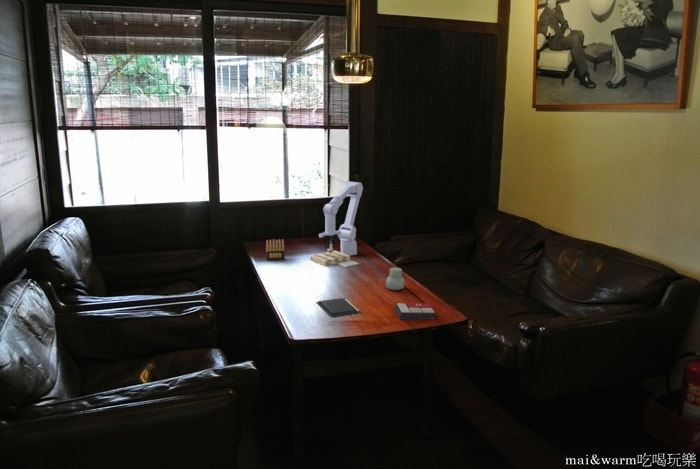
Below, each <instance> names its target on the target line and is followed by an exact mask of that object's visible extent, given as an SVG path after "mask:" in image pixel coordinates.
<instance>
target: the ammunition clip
mask: <svg viewBox="0 0 700 469" xmlns="http://www.w3.org/2000/svg"><path fill="white" fill-rule="evenodd" d="M265 243H266V244H265V253H266V254H265V260H266V261H274V260H279V259H280V260H285V258H286V257H285V256H286V255H285V241H284V239H283V238H282V239H281V238H279V239H276V240H275V238H273V239H269V240H268V239H266V242H265Z"/></svg>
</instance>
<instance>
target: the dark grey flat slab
mask: <svg viewBox="0 0 700 469" xmlns="http://www.w3.org/2000/svg"><path fill="white" fill-rule="evenodd" d="M315 303H316V304H317V305H318V307H320V309H322V310H323V311H324V312H325V313H326V315H327V316H329V317H330V318H339V316H340V317H346V316H345V315H347V316H353V315H352V314H354V315H358V313H360V314H363V312H362V310H361V309H359V308H357V307H356V306H355V305H354V304H353V303H351V302H350V301H349V299H347V298H346V297H345V298H343V297H341V298H340V297H339V298H332V299H325V300H318V301H316V302H315Z"/></svg>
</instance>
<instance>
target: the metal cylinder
mask: <svg viewBox="0 0 700 469" xmlns="http://www.w3.org/2000/svg"><path fill="white" fill-rule="evenodd" d="M333 249H334V248H333V240H331V239H330V243H329V249H327V248H326V250H327V251H326V252H328V253H332V252H333V251H334V250H333Z"/></svg>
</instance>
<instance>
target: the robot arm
mask: <svg viewBox="0 0 700 469" xmlns="http://www.w3.org/2000/svg"><path fill="white" fill-rule="evenodd" d="M363 190H364V187H363V184H362V182H360V181H359V182H358V181H357V182H356V181H349V180H347V181H346V182H344V184H343V188H342V190H341V191H340V193H339V194H338V195H334V196H333V198H332V199H331V200H330V202H328V203H326V204H324V206H323V208H322V212H323V213H324V217H325V219H324V221H325V222H324V223H325V224H324V225H325V226H324V228H325V230H324V232H321V233H318V237H319V238H322V240H323V242H324V246H325V249H326V250H327V249H329V243H330V240H333V249H334V248H335V246H336V242H337V240H338V239H339V241H340V251H339V252H340V253H343V254H346V255H349V256H350V257H351V256H355V255H358V253H357V252H358V246H357V244H358V243H357V241H356V236H357V234H356V233H357V228H356V227H355V225H354V223H355V220H356V219H355V218H356V214H357V212H358V211H357V210H358V208H359V203H360V199H361V197H362V193H363ZM347 196H349V197H350V200H349V204H348V209H347V212H346V216H345V220H344V223H343V224H340V226H339V229H338V230H336V214H337V213H338V211H339V208H340V207H341V205H342V204H343V203H344V199H346V197H347Z"/></svg>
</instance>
